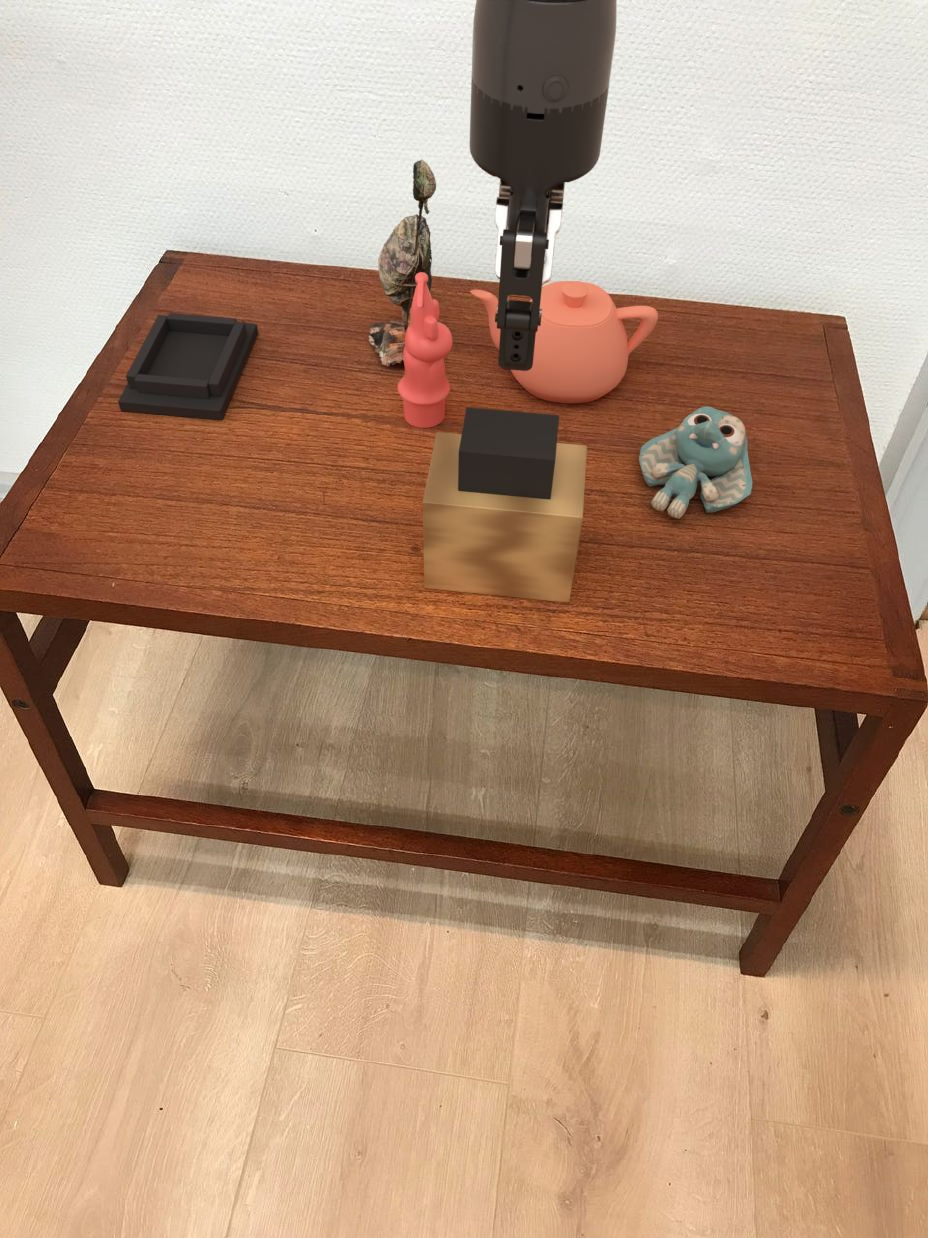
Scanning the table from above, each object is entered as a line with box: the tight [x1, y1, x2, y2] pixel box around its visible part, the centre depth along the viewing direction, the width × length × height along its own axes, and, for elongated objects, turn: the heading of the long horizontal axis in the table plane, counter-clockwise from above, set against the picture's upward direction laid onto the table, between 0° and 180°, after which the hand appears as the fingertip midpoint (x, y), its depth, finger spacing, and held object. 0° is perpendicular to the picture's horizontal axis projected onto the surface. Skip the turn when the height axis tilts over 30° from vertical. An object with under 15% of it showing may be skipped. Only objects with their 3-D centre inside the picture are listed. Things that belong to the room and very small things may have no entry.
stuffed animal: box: [638, 406, 753, 520], centre depth 86 cm, size 11×7×12 cm
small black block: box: [458, 406, 560, 499], centre depth 73 cm, size 7×5×4 cm
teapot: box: [469, 280, 659, 404], centre depth 95 cm, size 12×18×10 cm
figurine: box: [397, 272, 454, 429], centre depth 88 cm, size 5×5×15 cm
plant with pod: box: [368, 159, 437, 367], centre depth 94 cm, size 8×11×20 cm
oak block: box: [421, 431, 588, 603], centre depth 79 cm, size 12×8×10 cm, turn 83°
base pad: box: [117, 312, 259, 421], centre depth 97 cm, size 14×10×3 cm
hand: (520, 327), depth 65 cm, fingers open, 8 cm apart
